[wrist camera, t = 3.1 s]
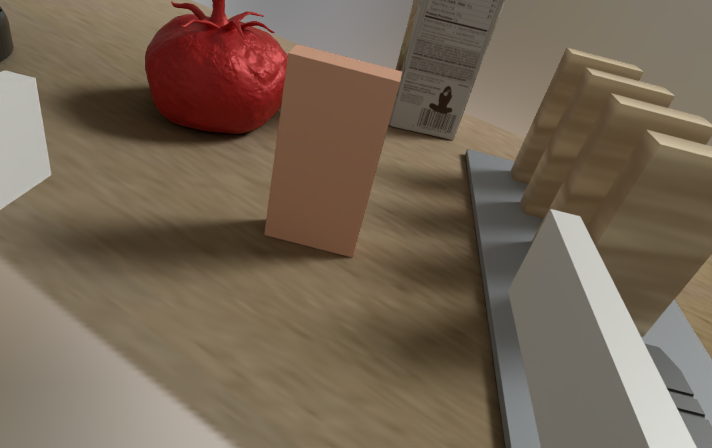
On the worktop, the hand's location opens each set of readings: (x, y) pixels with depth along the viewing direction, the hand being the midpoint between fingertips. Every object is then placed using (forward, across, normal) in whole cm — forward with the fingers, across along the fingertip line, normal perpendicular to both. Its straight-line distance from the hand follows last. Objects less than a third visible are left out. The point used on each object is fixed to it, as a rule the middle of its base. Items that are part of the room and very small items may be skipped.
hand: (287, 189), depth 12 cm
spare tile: (+11, 0, -10) cm, 15 cm away
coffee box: (+35, +6, -10) cm, 36 cm away
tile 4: (+20, +16, -9) cm, 27 cm away
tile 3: (+15, +16, -9) cm, 24 cm away
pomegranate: (+23, -10, -10) cm, 27 cm away
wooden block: (+25, +16, -9) cm, 31 cm away
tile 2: (+10, +16, -9) cm, 21 cm away
